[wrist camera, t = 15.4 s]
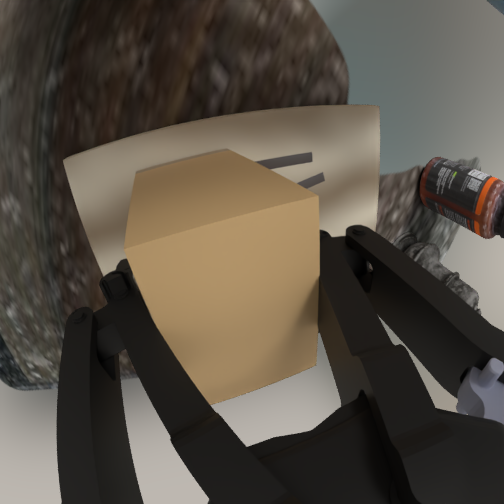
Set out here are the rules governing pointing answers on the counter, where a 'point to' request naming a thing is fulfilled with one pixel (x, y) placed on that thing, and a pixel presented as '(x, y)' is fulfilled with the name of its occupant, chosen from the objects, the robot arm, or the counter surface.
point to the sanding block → (227, 269)
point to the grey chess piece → (436, 266)
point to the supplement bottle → (464, 196)
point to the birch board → (250, 146)
